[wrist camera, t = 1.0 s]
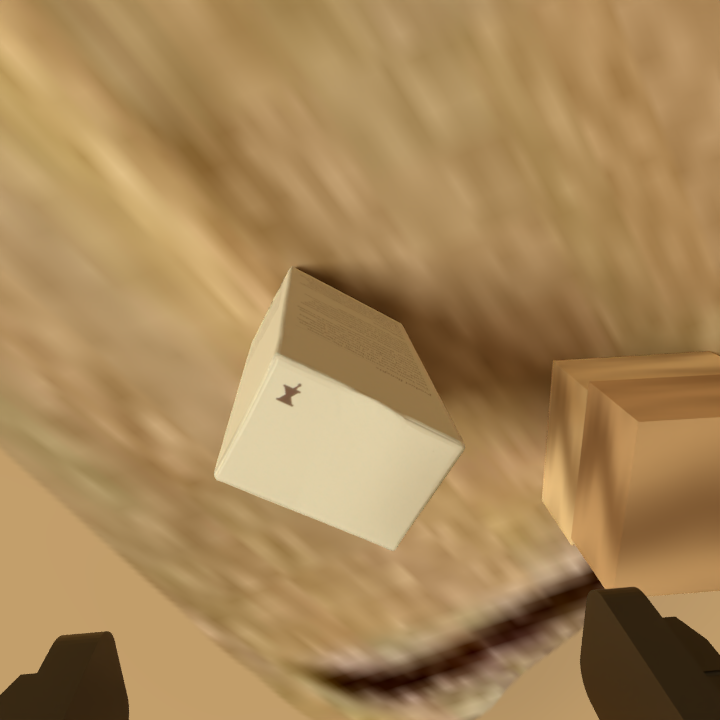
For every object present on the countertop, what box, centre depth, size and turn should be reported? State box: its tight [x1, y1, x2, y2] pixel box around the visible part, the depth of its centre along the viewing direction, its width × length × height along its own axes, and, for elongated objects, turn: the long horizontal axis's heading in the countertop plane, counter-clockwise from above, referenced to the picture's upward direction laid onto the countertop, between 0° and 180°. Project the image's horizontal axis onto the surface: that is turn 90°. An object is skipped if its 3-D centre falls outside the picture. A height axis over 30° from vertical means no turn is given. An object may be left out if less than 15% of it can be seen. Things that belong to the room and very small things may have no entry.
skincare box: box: [214, 267, 465, 551], centre depth 21 cm, size 6×4×12 cm
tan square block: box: [571, 374, 720, 596], centre depth 24 cm, size 8×8×4 cm
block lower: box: [542, 351, 720, 545], centre depth 28 cm, size 8×8×4 cm
